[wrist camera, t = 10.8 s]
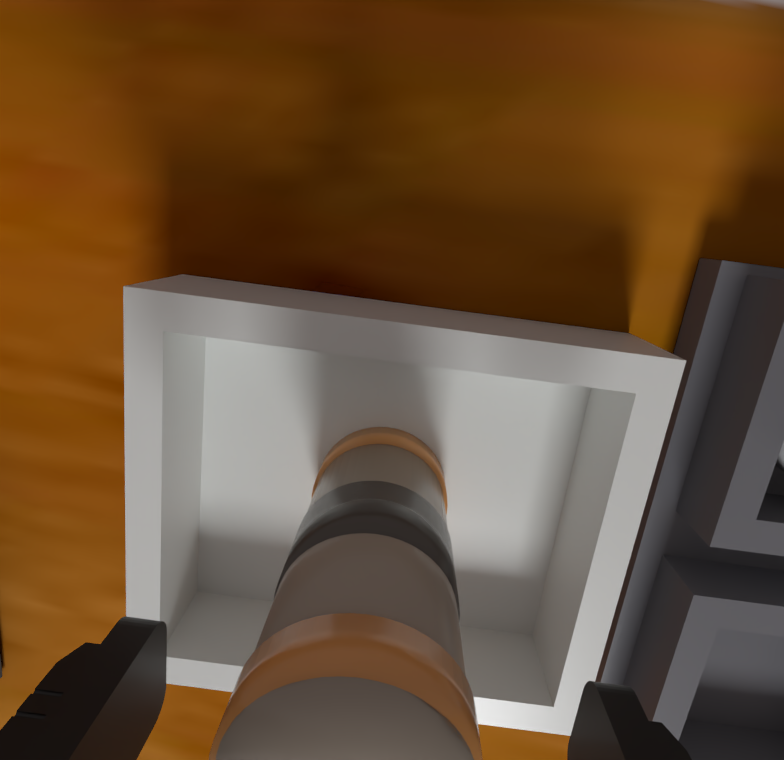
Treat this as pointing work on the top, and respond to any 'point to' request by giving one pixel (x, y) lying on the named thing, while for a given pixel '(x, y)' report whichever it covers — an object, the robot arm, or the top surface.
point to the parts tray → (404, 412)
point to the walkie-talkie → (0, 668)
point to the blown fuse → (361, 622)
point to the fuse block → (714, 532)
